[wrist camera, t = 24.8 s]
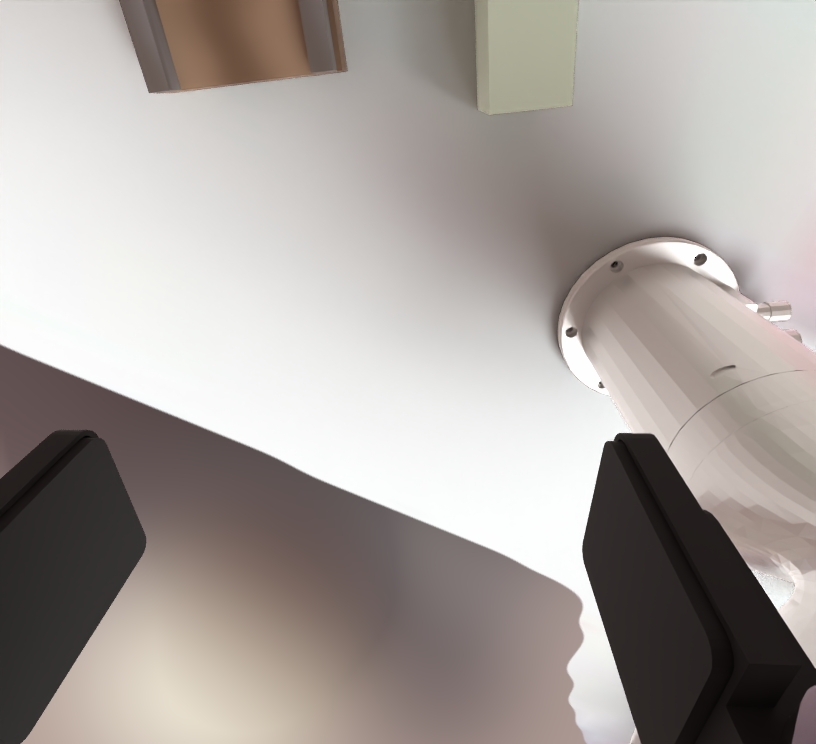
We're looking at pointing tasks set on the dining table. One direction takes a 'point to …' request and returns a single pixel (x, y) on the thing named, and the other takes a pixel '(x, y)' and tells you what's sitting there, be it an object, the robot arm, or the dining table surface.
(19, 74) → the dining table surface
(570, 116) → the dining table surface
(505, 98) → the bar
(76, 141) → the dining table surface
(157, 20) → the groove board
